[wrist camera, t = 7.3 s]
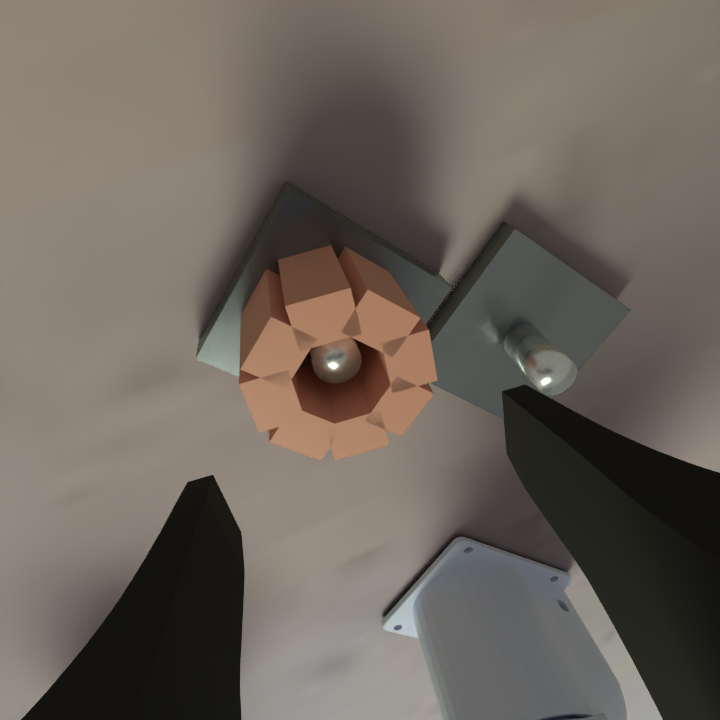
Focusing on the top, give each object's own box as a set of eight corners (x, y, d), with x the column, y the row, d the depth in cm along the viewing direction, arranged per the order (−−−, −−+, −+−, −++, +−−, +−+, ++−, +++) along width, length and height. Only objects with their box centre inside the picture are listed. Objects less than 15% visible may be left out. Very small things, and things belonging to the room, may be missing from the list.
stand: (616, 300, 23) (680, 341, 20) (516, 417, 26) (558, 472, 22) (503, 221, 20) (555, 253, 17) (403, 361, 23) (431, 414, 19)
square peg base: (439, 273, 21) (482, 321, 17) (347, 404, 23) (367, 472, 19) (285, 181, 18) (295, 213, 14) (199, 340, 20) (187, 404, 17)
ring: (413, 369, 21) (445, 427, 18) (273, 409, 21) (277, 477, 17) (386, 229, 18) (418, 268, 15) (221, 275, 18) (215, 325, 14)
